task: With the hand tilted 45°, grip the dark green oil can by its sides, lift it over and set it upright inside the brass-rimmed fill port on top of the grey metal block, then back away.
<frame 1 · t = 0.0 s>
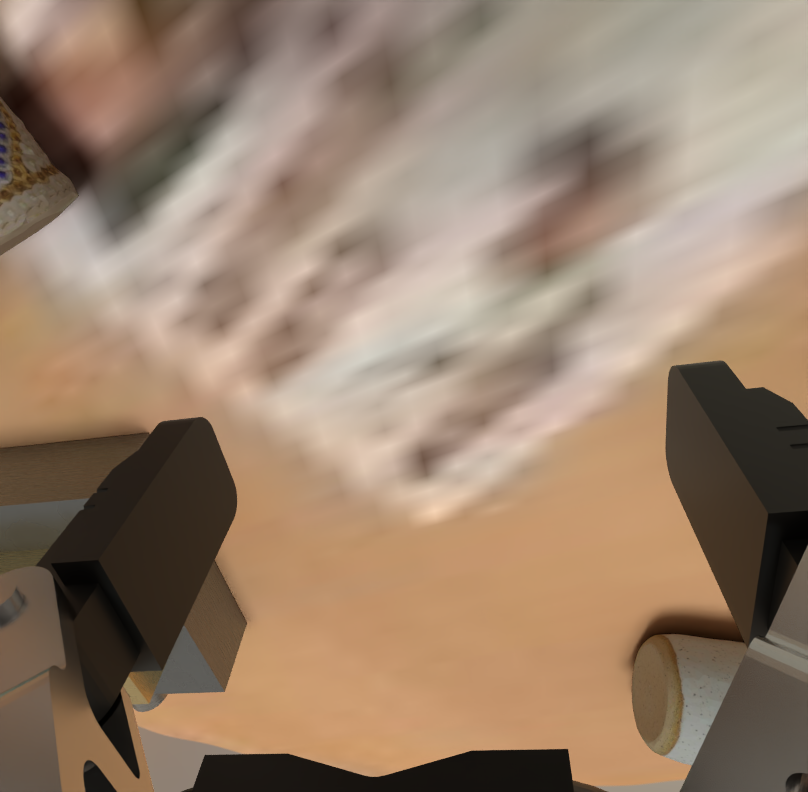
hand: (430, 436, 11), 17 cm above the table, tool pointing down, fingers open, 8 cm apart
grey metal block: (88, 548, 40), on the table
ceramic mug: (690, 657, 42), on the table
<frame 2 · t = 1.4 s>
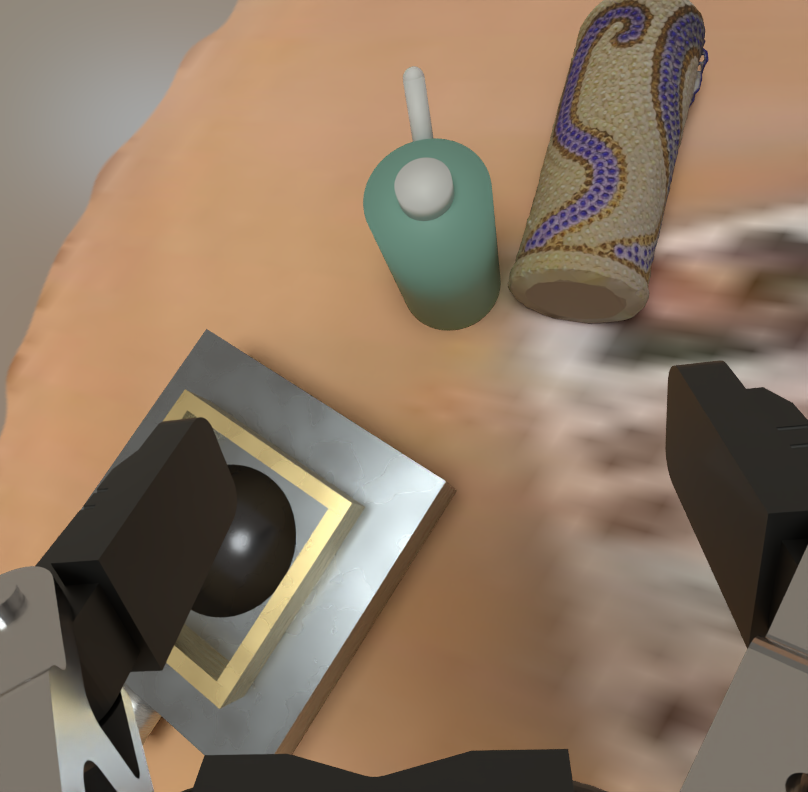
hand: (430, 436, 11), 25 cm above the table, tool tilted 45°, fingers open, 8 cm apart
oil can: (451, 284, 38), on the table
grey metal block: (264, 540, 36), on the table
decorative bottle: (627, 152, 38), on the table
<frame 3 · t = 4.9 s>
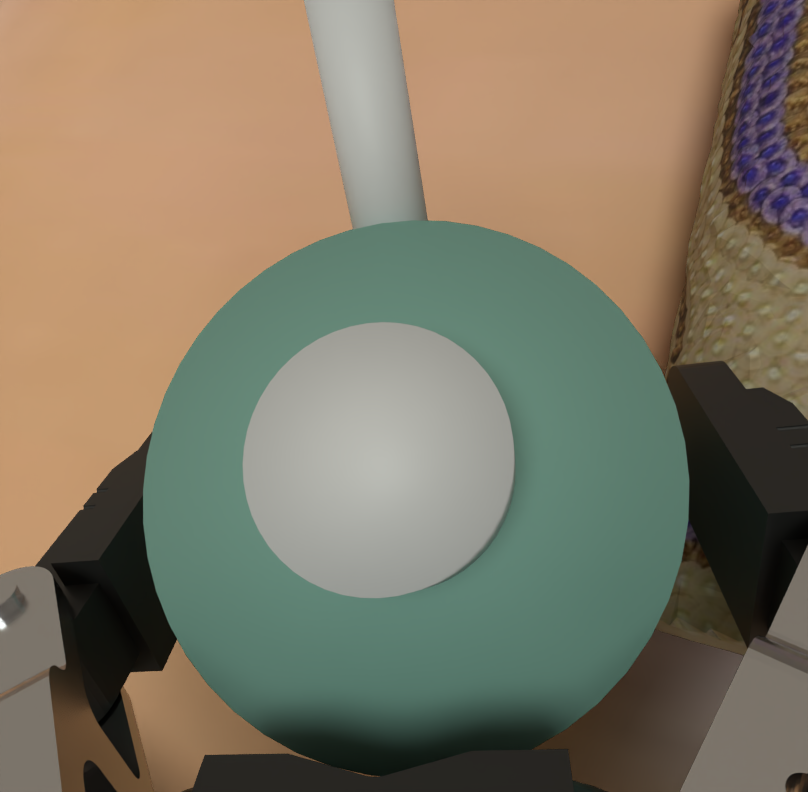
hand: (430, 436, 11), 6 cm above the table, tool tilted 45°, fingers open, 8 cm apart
oil can: (470, 522, 16), on the table
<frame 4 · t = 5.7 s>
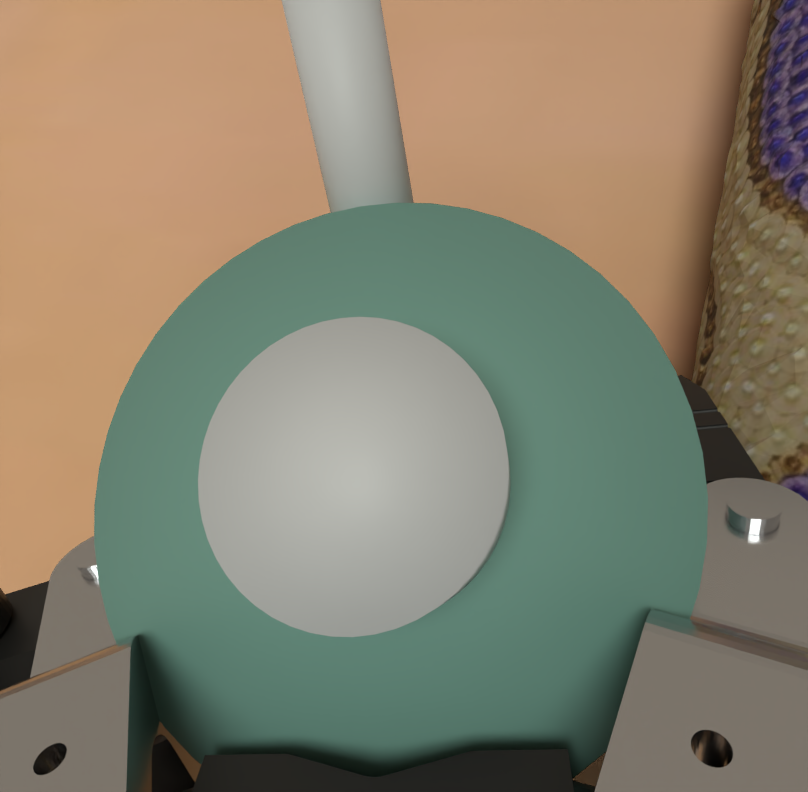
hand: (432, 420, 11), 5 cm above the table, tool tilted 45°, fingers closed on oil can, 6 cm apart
oil can: (465, 526, 16), on the table, touching gripper
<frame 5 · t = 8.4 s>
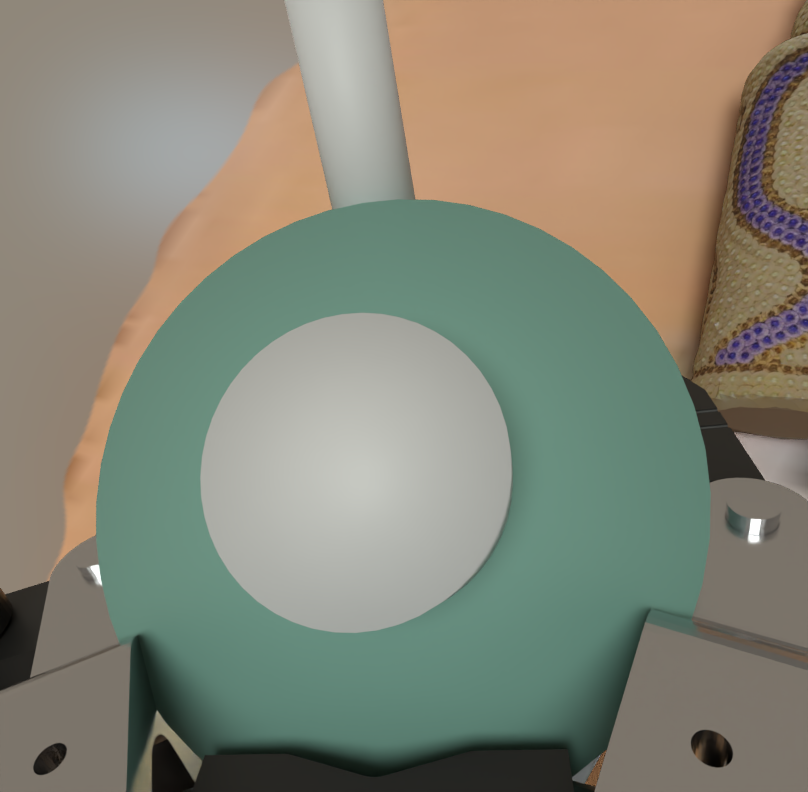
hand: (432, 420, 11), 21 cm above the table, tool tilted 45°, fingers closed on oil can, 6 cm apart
oil can: (465, 524, 16), point 16 cm above the table, touching gripper
decorative bottle: (803, 217, 32), on the table
when the fingers open (11 cm above the table, at t = 11.1 s): oil can drops 1 cm, resting on grey metal block.
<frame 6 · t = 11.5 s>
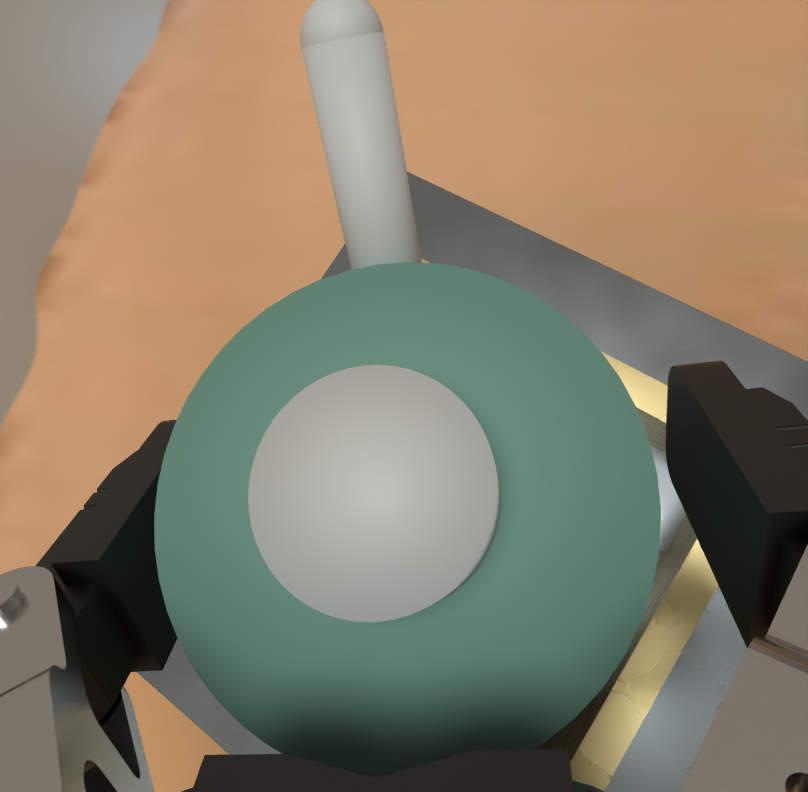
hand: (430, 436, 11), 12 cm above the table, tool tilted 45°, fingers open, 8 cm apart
oil can: (466, 533, 17), point 5 cm above the table, touching grey metal block
grey metal block: (481, 534, 22), on the table
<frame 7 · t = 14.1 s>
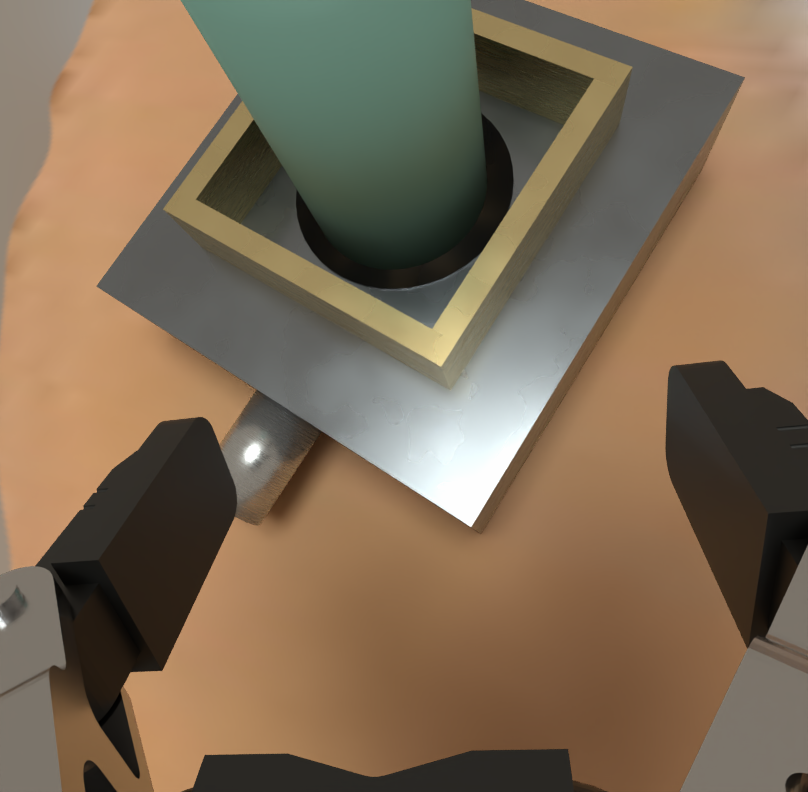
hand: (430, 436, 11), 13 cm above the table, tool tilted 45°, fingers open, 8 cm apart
oil can: (399, 189, 21), point 5 cm above the table, touching grey metal block
grey metal block: (423, 255, 26), on the table
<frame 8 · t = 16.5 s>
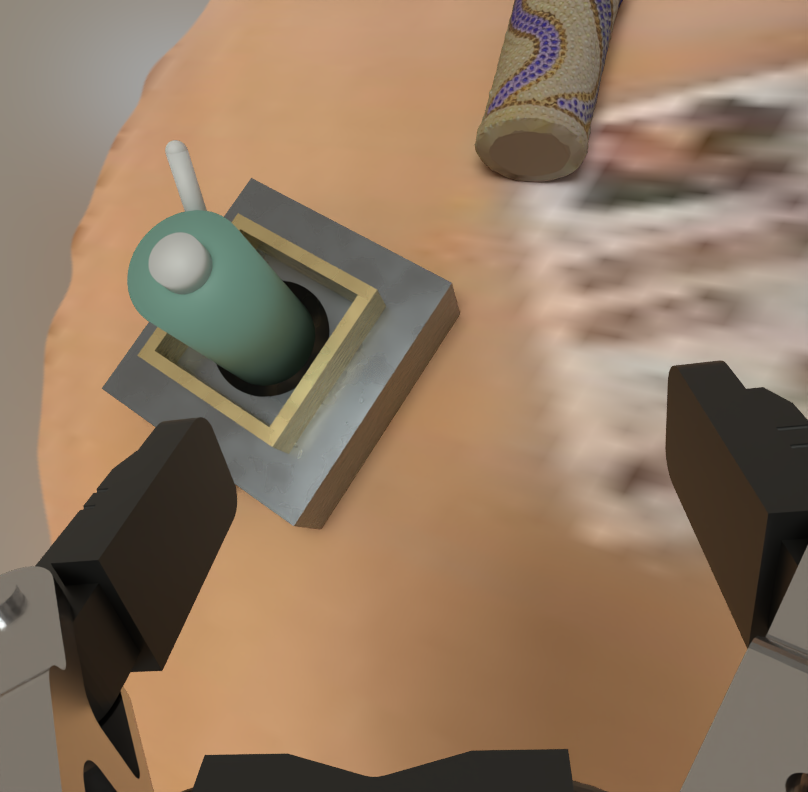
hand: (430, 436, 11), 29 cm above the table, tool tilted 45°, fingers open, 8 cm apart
oil can: (268, 338, 38), point 5 cm above the table, touching grey metal block
grey metal block: (298, 361, 43), on the table
decorative bottle: (573, 46, 46), on the table
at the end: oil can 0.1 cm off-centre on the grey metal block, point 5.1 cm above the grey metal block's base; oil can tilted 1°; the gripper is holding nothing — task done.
